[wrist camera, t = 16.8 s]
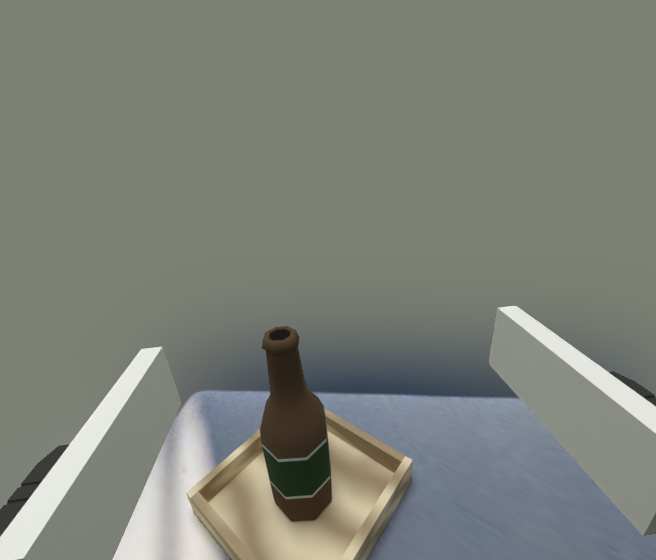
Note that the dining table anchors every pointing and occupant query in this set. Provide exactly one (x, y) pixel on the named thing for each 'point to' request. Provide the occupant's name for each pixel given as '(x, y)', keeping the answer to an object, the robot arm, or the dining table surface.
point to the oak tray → (304, 535)
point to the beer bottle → (294, 432)
